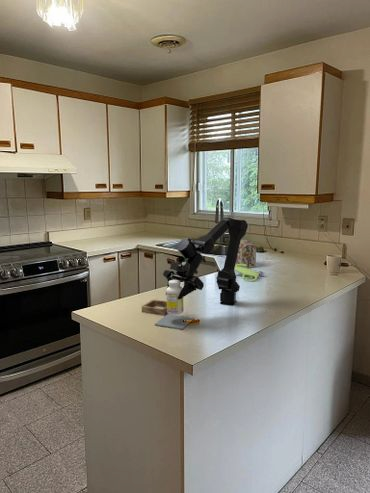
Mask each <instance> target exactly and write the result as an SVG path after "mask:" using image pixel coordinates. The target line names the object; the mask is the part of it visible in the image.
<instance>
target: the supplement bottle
mask: <svg viewBox="0 0 370 493" xmlns="http://www.w3.org/2000/svg"><path fill="white" fill-rule="evenodd" d="M182 288H183V287H182V286H181V281H179V280H170V281H169V287H168V288H167V287H166V291H165V296H166V301H167V312H168V313H167V314H170V315H176V316H178V315H181V314H183V313H184V297H183V298H181V299H180V300H179V299H178V296H179V294H180V292H181V290H182Z"/></svg>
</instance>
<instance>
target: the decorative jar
mask: <svg viewBox="0 0 370 493" xmlns="http://www.w3.org/2000/svg"><path fill="white" fill-rule="evenodd" d="M256 262H257V248H256V246H255V245H254V243H252V242H250V241H248V240H247V239H241V241H240V245H239V250H238V255H237V259H236V264H246V265H247V267H244V268H248V269H254V268H256V266H257V265H256V264H257V263H256ZM239 267H242V266H239Z"/></svg>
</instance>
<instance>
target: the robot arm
mask: <svg viewBox="0 0 370 493" xmlns="http://www.w3.org/2000/svg"><path fill="white" fill-rule="evenodd" d="M248 225H249V224H248V222H247V221H246V220H245V219H236V218H232V217H225V216H224V217H222V218H221V219H220V221H219V222H218V223H217V224H216V225H215V226H213V227H212V229H211V230H210V231H209V232H207V233H206V234H205V235H201V236H200V237H198V238H196V239H195V240H194V242H193V241H192V240H191V238H190V237H184V238H183V239H181V240H180V241H179V242H177V244H176V246H175V248H176V250H177V251H178V252H179V254H180V255H181V256H182V257H183V258H184V259H185V261H182V262H178V261H173V260H172V261H171V263H170V265H169V266H170V267H169V269H165V270H164V271H163V273H162V276H163V277H164V278H166V280H167V286H166V289H167V288H168V287H169V281H170V280H179V281H180V282H183V287H182V290H181V292H180V294H179V296H178V299H179V300H180V299H181V298H183V299H184V297H186V296H188V295H189V294H191V293H192V292H196V291H197V290H198V291H203V288H204V286H205V284H204V282H203V281H202V279H201V278H200V277H199V276H195V275H197V274H199V271H198V269H199V267H200V265H201V263H203V264H206V261H207V260H206V256H205V255H209V254H210V253H212V251H213V249H214V248H215V245H216V242H217V241H218V240H219V239H220V238H221V237H222V236H223V235H224V234H225V233H226V232H227V231H228V234H229V240H228V241H229V242H228V245H227V250H226V255H225V261H224V265H223V268H221V269H220V270H217V274H216V284H217V287H218V290H220V291H221V292H220V293H219V301H220V302H219V304H220V305H228V306H234V305H235V304H236V303H238V300H237V293H238V292H240V284H239V283H238V282H237V275H236V271H235V270H234V269H235V264H236V259H237V255H238V250H239V245H240V241H241V240H243V237H244V236H246V233H247V230H248V228H249V226H248ZM202 254H204V255H202ZM174 271H175V272H174Z"/></svg>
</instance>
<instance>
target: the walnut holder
mask: <svg viewBox="0 0 370 493" xmlns="http://www.w3.org/2000/svg"><path fill="white" fill-rule="evenodd" d="M162 307H163V308H162ZM145 312H146V313H147V314H153V315H160V316H166V315H167V314H169V313H168V312H167V300H159V299H151V300H149V301H148V302H146V303H145V304H143V305H142V306H141V313H145Z"/></svg>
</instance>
